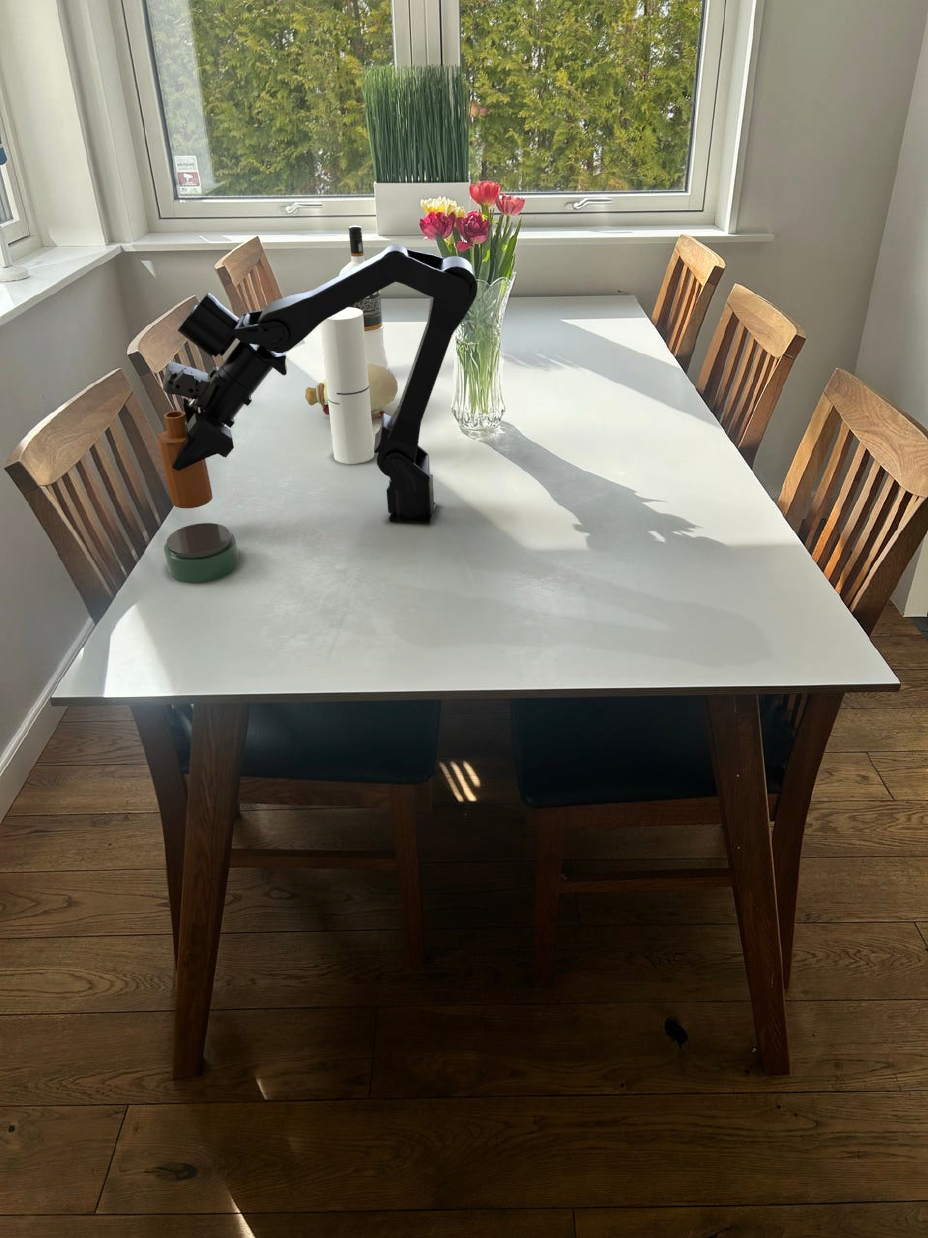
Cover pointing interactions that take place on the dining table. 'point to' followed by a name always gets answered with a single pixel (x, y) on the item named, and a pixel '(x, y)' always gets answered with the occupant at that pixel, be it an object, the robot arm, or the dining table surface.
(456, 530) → the dining table surface
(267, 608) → the dining table surface
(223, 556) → the green jar
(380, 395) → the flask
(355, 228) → the vodka
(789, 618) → the dining table surface
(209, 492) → the amber bottle
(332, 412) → the cylindrical container
